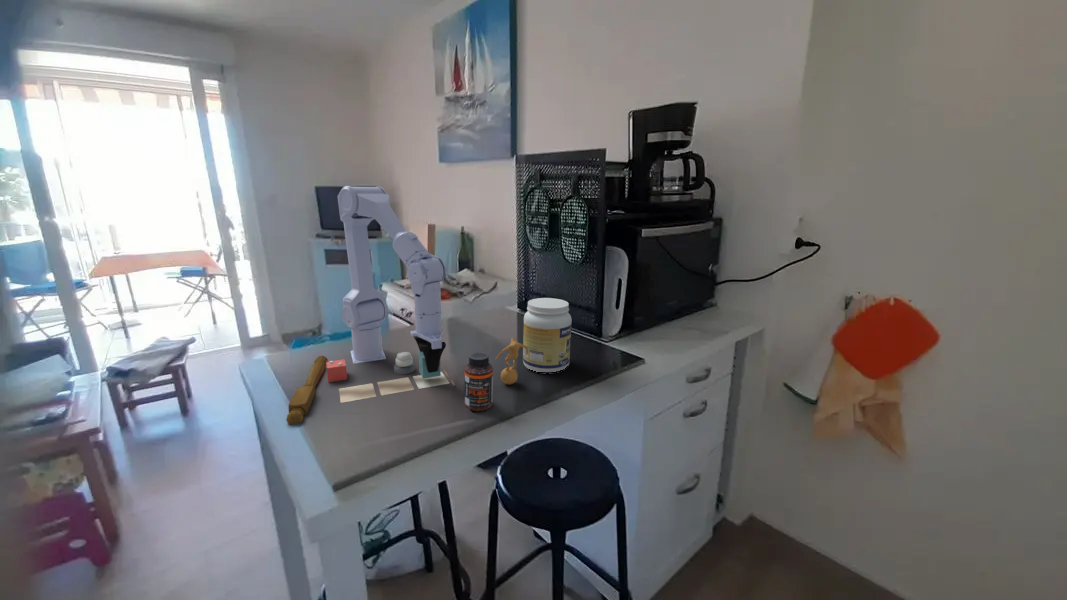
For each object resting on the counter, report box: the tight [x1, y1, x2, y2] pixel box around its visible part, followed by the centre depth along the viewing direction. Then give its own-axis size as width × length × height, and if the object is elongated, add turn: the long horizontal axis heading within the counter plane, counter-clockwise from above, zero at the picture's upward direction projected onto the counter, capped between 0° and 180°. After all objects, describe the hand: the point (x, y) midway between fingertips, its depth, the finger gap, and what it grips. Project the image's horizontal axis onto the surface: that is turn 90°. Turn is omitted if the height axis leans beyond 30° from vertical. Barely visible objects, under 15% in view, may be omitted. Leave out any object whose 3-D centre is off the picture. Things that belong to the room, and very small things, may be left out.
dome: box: [395, 351, 414, 367], centre depth 104 cm, size 4×4×2 cm
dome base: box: [393, 362, 416, 375], centre depth 105 cm, size 5×5×2 cm
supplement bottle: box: [463, 351, 494, 412], centre depth 89 cm, size 6×6×11 cm
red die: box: [326, 359, 348, 383], centre depth 100 cm, size 4×4×4 cm
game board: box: [338, 368, 457, 404], centre depth 97 cm, size 10×25×1 cm, turn 116°
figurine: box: [495, 337, 528, 385], centre depth 98 cm, size 8×6×12 cm
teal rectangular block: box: [417, 351, 441, 379], centre depth 99 cm, size 4×4×5 cm
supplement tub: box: [522, 297, 573, 373], centre depth 109 cm, size 12×12×17 cm
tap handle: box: [285, 355, 329, 426], centre depth 94 cm, size 3×3×30 cm
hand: (430, 367), depth 99 cm, fingers closed on teal rectangular block, 4 cm apart
